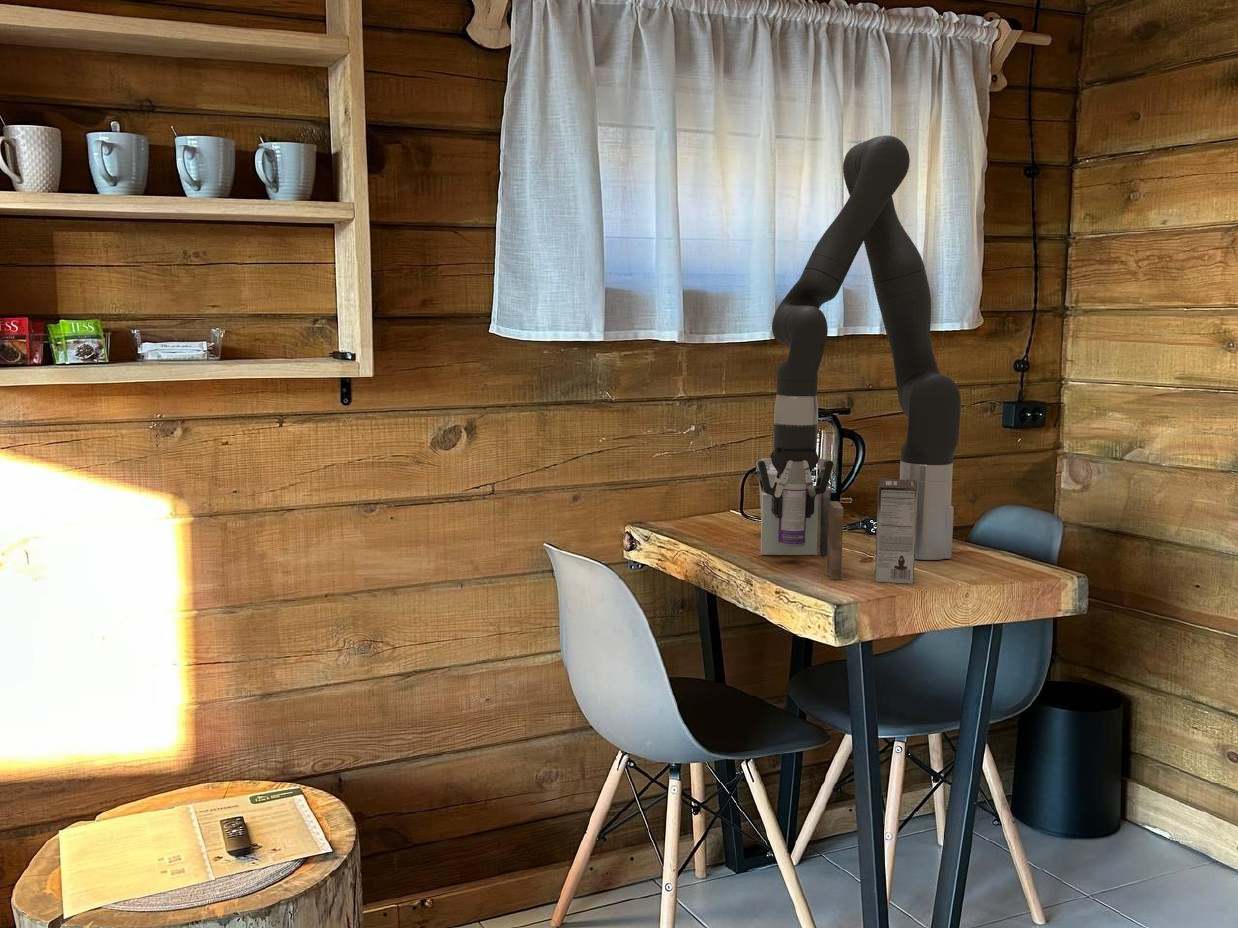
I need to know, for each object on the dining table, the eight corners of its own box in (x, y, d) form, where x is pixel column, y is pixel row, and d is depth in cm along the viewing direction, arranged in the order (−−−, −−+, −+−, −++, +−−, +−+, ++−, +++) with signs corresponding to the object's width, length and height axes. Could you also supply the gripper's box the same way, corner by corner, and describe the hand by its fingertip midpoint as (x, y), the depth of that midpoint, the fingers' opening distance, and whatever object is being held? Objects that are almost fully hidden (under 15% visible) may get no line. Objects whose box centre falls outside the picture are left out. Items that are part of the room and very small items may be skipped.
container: (783, 540, 214) (786, 457, 212) (808, 543, 212) (811, 459, 210) (774, 545, 210) (777, 460, 208) (799, 548, 208) (802, 462, 206)
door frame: (825, 549, 222) (827, 486, 220) (840, 579, 198) (843, 508, 197) (816, 549, 222) (818, 485, 220) (831, 579, 198) (833, 508, 197)
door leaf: (815, 553, 218) (817, 493, 216) (816, 554, 216) (818, 494, 215) (760, 553, 217) (762, 493, 216) (761, 554, 216) (763, 494, 214)
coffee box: (874, 570, 206) (878, 477, 204) (912, 572, 204) (916, 479, 202) (874, 582, 197) (878, 486, 195) (914, 584, 196) (919, 487, 193)
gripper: (828, 419, 213) (824, 513, 215) (750, 418, 211) (747, 514, 213) (842, 423, 205) (838, 521, 208) (761, 423, 203) (758, 521, 206)
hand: (792, 517), depth 210 cm, fingers closed on container, 4 cm apart
